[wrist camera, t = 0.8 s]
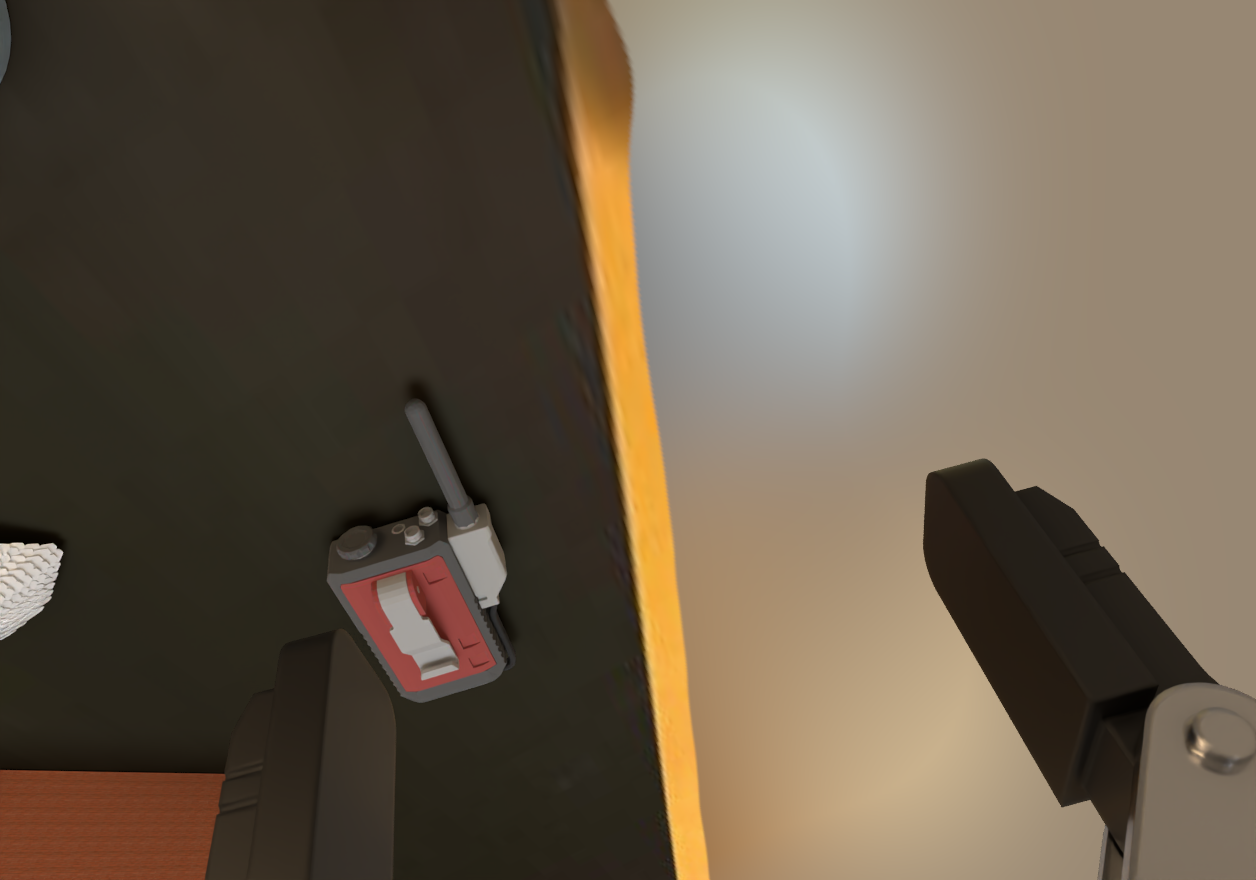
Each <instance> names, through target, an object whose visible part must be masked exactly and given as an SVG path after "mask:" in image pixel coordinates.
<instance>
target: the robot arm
mask: <svg viewBox="0 0 1256 880" xmlns="http://www.w3.org/2000/svg"><path fill="white" fill-rule="evenodd" d="M925 494H926V495H925V515H924V539H923V550H924V557H925V562H926V566H927V569H928V572H929V575H930V578H931V580H932V582H933V585H934V587H935V589H936V591H937V592H938V594H939V596H940V598H941V599H942V601H943V603H944V605H945V606H946V608H947V610H948V611H949V613H950V615H951V617H952V618H953V620H954V622H955V623H956V625H957V627H958V629H959V630H960V632H961V634H962V636H963V637H964V639H965V641H966V643H967V644H968V646H969V648H970V650H971V651H972V653H973V655H974V656H975V658H976V660H977V661H978V663H979V665H980V667H981V668H982V670H983V672H984V674H985V675H986V677H987V679H988V681H989V682H990V684H991V686H992V688H993V689H994V691H995V693H996V694H997V696H998V698H999V699H1000V701H1001V703H1002V705H1003V707H1004V708H1005V710H1006V712H1007V713H1008V715H1009V717H1010V719H1011V720H1012V722H1013V724H1014V725H1015V727H1016V729H1017V731H1018V732H1019V734H1020V736H1021V738H1022V739H1023V741H1024V743H1025V745H1026V746H1027V748H1028V750H1029V751H1030V753H1031V755H1032V757H1033V758H1034V760H1035V762H1036V763H1037V765H1038V767H1039V769H1040V771H1041V772H1042V774H1043V776H1044V777H1045V779H1046V781H1047V783H1048V784H1049V786H1050V788H1051V790H1052V791H1053V793H1054V795H1055V796H1056V798H1057V800H1058V802H1059V803H1060V805H1061V807H1065V806H1069V805H1073V804H1076V803H1080V802H1083V801H1087V800H1091V801H1092V803H1093V805H1094V806H1095V808H1096V810H1097V811H1098V813H1099V815H1100V816H1101V818H1102V820H1103V821H1104V823H1105V824H1106V825H1105V829H1104V833H1103V840H1102V849H1101V856H1100V864H1099V872H1098V879H1097V880H1256V699H1254V698H1252V697H1251V696H1249V695H1247V694H1244V693H1242V692H1240V691H1238V690H1235V689H1232V688H1228V687H1226V686H1222V685H1219V684H1218V683H1217V682H1216V681H1215V680H1214V679H1213V678H1211V677H1210V676H1209V675H1208V674H1207V673H1206V672H1205V671H1204V670H1203V669H1202V667H1201V666H1200V665H1199V664H1198V663H1197V661H1196V660H1195V659H1194V658H1193V656H1192V655H1191V654H1190V653H1189V651H1188V650H1187V649H1186V648H1185V647H1184V645H1183V644H1182V643H1181V642H1180V640H1179V639H1178V638H1177V637H1176V635H1175V634H1174V633H1173V632H1172V630H1171V629H1170V628H1169V627H1168V625H1167V624H1166V623H1165V622H1164V621H1163V619H1162V618H1161V617H1160V616H1159V614H1158V613H1157V612H1156V611H1155V609H1154V608H1153V607H1152V606H1151V605H1150V603H1149V602H1148V601H1147V600H1146V598H1145V597H1144V596H1143V594H1142V593H1141V592H1140V591H1139V590H1138V588H1137V587H1136V586H1135V585H1134V583H1133V582H1132V581H1131V580H1130V578H1129V577H1128V576H1127V575H1126V574H1125V572H1124V573H1122V572H1121V571H1120V569H1119V565H1118V563H1117V562H1116V561H1115V560H1114V559H1113V557H1112V556H1111V555H1110V554H1109V553H1108V551H1107V550H1106V549H1105V547H1101V546H1100V544H1099V540H1098V539H1097V538H1096V536H1095V535H1094V534H1093V532H1092V531H1091V530H1090V529H1089V528H1088V526H1087V525H1086V524H1085V523H1084V521H1083V520H1082V519H1081V518H1080V516H1079V515H1078V514H1077V513H1076V511H1075V510H1074V509H1073V508H1071V507H1069V506H1068V505H1066V504H1065V503H1063V502H1061V501H1060V500H1058V499H1057V498H1055V497H1053V496H1052V495H1050V494H1049V493H1047V492H1045V491H1044V490H1042V489H1040V488H1039V487H1037V486H1034V487H1031V488H1027V489H1023V490H1020V491H1016V492H1014V491H1013V489H1012V488H1011V486H1010V485H1009V484H1008V482H1007V481H1006V480H1005V478H1004V477H1003V476H1002V474H1001V473H1000V472H999V470H998V469H997V468H996V466H995V465H994V464H993V463H992V462H990V461H989V460H987V459H979V460H975V461H972V462H968V463H964V464H960V465H957V466H953V467H949V468H945V469H942V470H938V471H934V472H931V473H929V474H928V476H927V479H926V493H925ZM395 764H396V723H395V716H394V711H393V707H392V703H391V700H390V697H389V695H388V692H387V690H386V688H385V687H384V685H383V684H382V682H381V681H380V679H379V678H378V676H377V675H376V673H375V672H374V670H373V669H372V667H371V666H370V664H369V663H368V661H367V660H366V658H365V657H364V655H363V654H362V652H361V651H360V649H359V648H358V646H357V645H356V643H355V642H354V641H353V639H352V638H351V636H350V635H349V633H348V632H347V631H346V630H344V629H337V630H333V631H329V632H326V633H322V634H318V635H315V636H311V637H307V638H303V639H300V640H296V641H292V642H289V643H286V644H285V645H284V646H283V648H282V649H281V652H280V656H279V661H278V668H277V674H276V681H275V688H274V689H270V690H266V691H263V692H259V693H255V694H253V696H252V697H251V699H250V701H249V703H248V705H247V706H246V708H245V710H244V712H243V714H242V715H241V717H240V719H239V721H238V722H237V724H236V726H235V728H234V730H233V731H232V733H231V739H230V744H229V750H228V755H227V760H226V766H225V771H224V774H225V777H226V779H225V781H223V782H222V787H221V793H220V798H219V804H218V807H219V809H220V812H219V814H217V815H216V820H215V825H214V831H213V836H212V842H211V847H210V853H209V858H208V863H207V869H206V874H205V880H393V845H394V804H395Z"/></svg>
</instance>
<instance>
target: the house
mask: <svg viewBox="0 0 1256 880" xmlns="http://www.w3.org/2000/svg"><path fill="white" fill-rule="evenodd" d="M225 779H226V777H225V774H201V773H144V772H86V771H29V770H0V880H205V874H206V869H207V863H208V858H209V853H210V847H211V842H212V836H213V831H214V825H215V820H216V815H217V814H219V812H220V809H219V807H218V804H219V798H220V793H221V787H222V782H223V781H225Z"/></svg>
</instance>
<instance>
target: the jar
mask: <svg viewBox="0 0 1256 880" xmlns="http://www.w3.org/2000/svg"><path fill="white" fill-rule="evenodd" d="M10 46H11V31H10V20H9V15H8V10H7V5H6V1H5V0H0V83H1V81H2V79H3V76H4V74H5V72H6V69H7V65H8V61H9V57H10Z"/></svg>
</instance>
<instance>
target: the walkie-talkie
mask: <svg viewBox="0 0 1256 880" xmlns="http://www.w3.org/2000/svg"><path fill="white" fill-rule="evenodd" d="M405 413H406V415H407V418H408V420H409V422H410V424H411V426H412V428H413V430H414V432H415V434H416V437H417V439H418V441H419V443H420V445H421V447H422V449H423V451H424V453H425V456H426V458H427V460H428V462H429V464H430V466H431V468H432V470H433V472H434V475H435V477H436V479H437V481H438V483H439V485H440V487H441V489H442V491H443V494H444V496H445V498H446V500H447V502H448V505H447V509H448V511H449V514H446V513H444V512H442V511H440V510H435V511H433V509H432V508H431V507H425V508H422V509H421V510H420V511H419V512H418V516H415V517H412V518H408V519H405V520H402V521H398V522H395V523H392V524H388V525H385V526H382V527H378V528H375V529H372V527H369V526H356V527H354V528H351V529H350V530H348V531H347V532H345V533H344V534H343V535H342V536H341V537H340V538H339V539H338V540H335V541H332V543H331V546H330V549H329V560H328V571H327V582H328V584H329V585H330V587H331V588H332V590H333V592H334V593H335V595H336V596H337V598H338V599H339V601H340V602H341V604H342V606H343V607H344V609H345V610H346V612H347V613H348V615H349V616H350V618H351V620H352V621H353V623H354V624H355V626H356V627H357V629H358V630H359V632H360V633H362V634H363V638H364V639H365V640H367V644H368V645H369V646H370V647H371V651H372V652H374V653H375V657H377V658H378V659H379V663H381V664H382V668H383V669H385V670H386V674H387V675H389V676H390V680H392V681H393V685H394V686H396V687H397V691H399V692H400V696H403V697H405V698H407V699H410V700H412V701H415V702H420V703H422V702H427V701H430V700H434V699H437V698H440V697H443V696H447V695H450V694H453V693H456V692H460V691H463V690H466V689H469V688H473V687H476V686H479V685H483V684H486V683H489V682H492V681H494V680H495V679H497V678H498V677H499V676H500V675H501V673H502V671H505V670H510V669H511V668H512V667H513V666H514V665H515V663H516V655H515V650H514V648H513V646H512V643H511V641H510V639H509V637H508V635H507V633H506V631H505V629H504V627H503V625H502V622H501V620H500V618H499V616H498V613H497V611H496V610H497V604H499V595H498V594H499V591H500V589H501V587H502V585H503V583H504V581H505V579H506V575H507V571H506V563H505V556H504V552H503V550H502V547H501V545H500V543H499V540H498V538H497V536H496V533H495V531H494V529H493V526H492V524H491V518H490V513H489V511H488V508H487V506H486V504H484V503H483V504H479V505H476V506H474V504H473V501H472V499H471V498H470V496H467V495H466V493H465V490H464V488H463V486H462V484H461V481H460V479H459V477H458V475H457V473H456V470H455V468H454V466H453V464H452V462H451V459H450V457H449V455H448V453H447V451H446V448H445V446H444V444H443V442H442V439H441V437H440V435H439V433H438V431H437V428H436V426H435V424H434V422H433V420H432V417H431V415H430V413H429V411H428V409H427V406H426V404H425V403H424V402H422V401H421V400H419V399H411V400H409V401H408V402H407V403H406V405H405ZM505 649H506V651H507V653H508V655H509V657H508V658H507V659H506V652H505Z"/></svg>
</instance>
